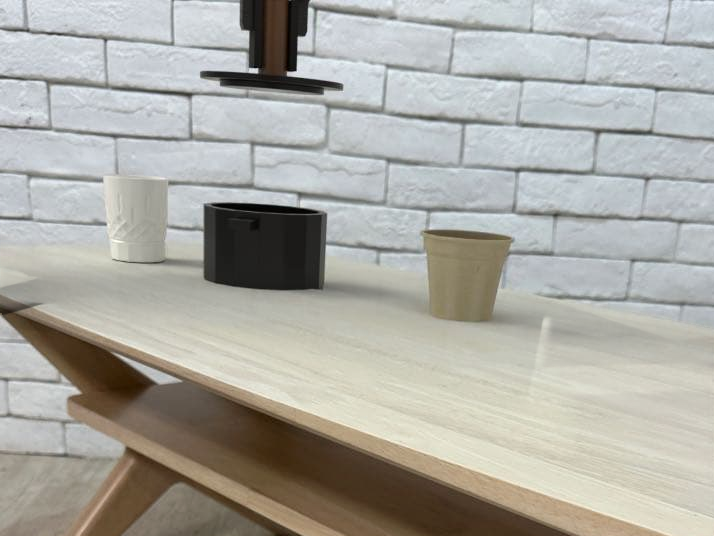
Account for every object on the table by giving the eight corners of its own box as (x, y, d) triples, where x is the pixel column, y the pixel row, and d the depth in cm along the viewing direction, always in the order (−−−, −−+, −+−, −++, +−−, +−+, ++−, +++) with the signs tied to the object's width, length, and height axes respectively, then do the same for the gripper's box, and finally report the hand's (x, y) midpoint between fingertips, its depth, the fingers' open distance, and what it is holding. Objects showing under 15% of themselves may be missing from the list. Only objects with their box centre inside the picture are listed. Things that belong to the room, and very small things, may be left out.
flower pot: (437, 330, 96) (445, 238, 93) (399, 313, 104) (405, 227, 101) (521, 330, 100) (532, 241, 97) (478, 313, 108) (487, 230, 105)
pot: (177, 290, 107) (176, 207, 104) (233, 270, 125) (234, 199, 121) (300, 302, 105) (303, 219, 102) (339, 281, 123) (343, 209, 120)
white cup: (181, 262, 128) (181, 180, 124) (127, 264, 122) (125, 178, 119) (146, 254, 133) (145, 174, 129) (93, 256, 127) (90, 173, 123)
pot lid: (177, 80, 98) (176, -26, 95) (228, 89, 112) (228, -3, 108) (323, 92, 96) (327, -16, 93) (356, 99, 110) (361, 5, 106)
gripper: (200, -232, 89) (200, 60, 97) (371, -197, 94) (357, 76, 103) (187, -209, 95) (188, 63, 104) (348, -178, 101) (336, 77, 109)
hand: (272, 69), depth 103 cm, fingers closed on pot lid, 3 cm apart
